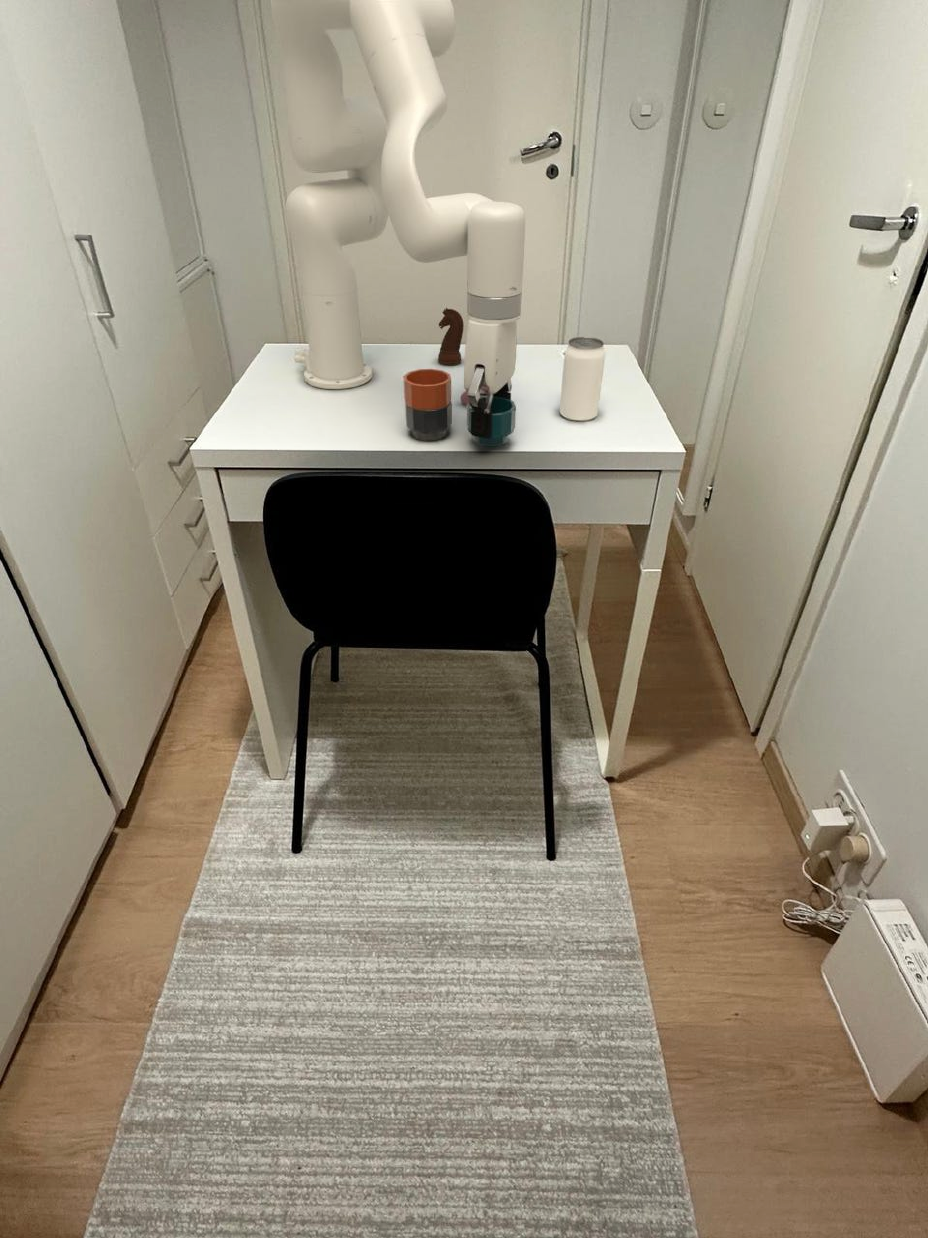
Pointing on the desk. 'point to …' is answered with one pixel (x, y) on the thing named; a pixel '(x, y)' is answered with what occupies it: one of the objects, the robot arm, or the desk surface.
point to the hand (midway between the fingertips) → (490, 425)
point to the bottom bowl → (429, 422)
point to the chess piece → (451, 338)
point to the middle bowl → (427, 389)
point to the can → (582, 378)
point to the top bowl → (497, 421)
